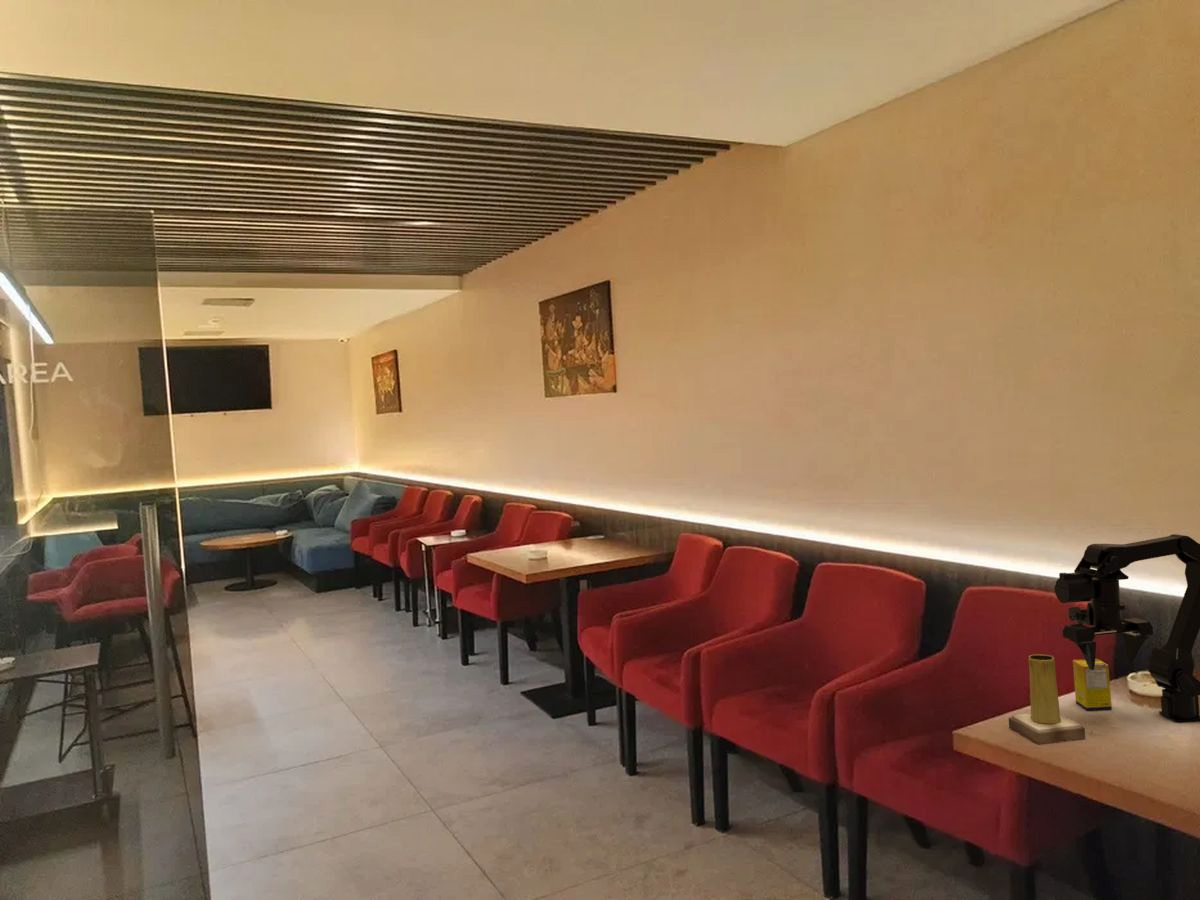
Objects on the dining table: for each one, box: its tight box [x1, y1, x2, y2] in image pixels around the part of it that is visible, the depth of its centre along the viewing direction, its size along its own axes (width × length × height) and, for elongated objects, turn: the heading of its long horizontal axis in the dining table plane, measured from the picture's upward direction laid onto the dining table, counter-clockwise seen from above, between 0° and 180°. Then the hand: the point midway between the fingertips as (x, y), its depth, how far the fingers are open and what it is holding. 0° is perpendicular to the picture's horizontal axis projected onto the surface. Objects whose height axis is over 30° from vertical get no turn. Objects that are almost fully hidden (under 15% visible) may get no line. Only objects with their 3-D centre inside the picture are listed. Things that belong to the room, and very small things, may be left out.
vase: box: [1028, 653, 1061, 724], centre depth 192 cm, size 6×6×14 cm
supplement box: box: [1072, 658, 1113, 712], centre depth 206 cm, size 6×6×11 cm
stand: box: [1008, 712, 1086, 745], centre depth 192 cm, size 11×11×3 cm
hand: (1110, 667), depth 194 cm, fingers open, 9 cm apart
